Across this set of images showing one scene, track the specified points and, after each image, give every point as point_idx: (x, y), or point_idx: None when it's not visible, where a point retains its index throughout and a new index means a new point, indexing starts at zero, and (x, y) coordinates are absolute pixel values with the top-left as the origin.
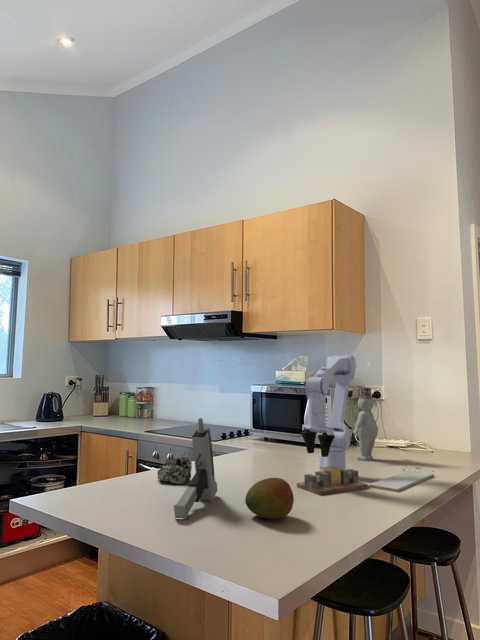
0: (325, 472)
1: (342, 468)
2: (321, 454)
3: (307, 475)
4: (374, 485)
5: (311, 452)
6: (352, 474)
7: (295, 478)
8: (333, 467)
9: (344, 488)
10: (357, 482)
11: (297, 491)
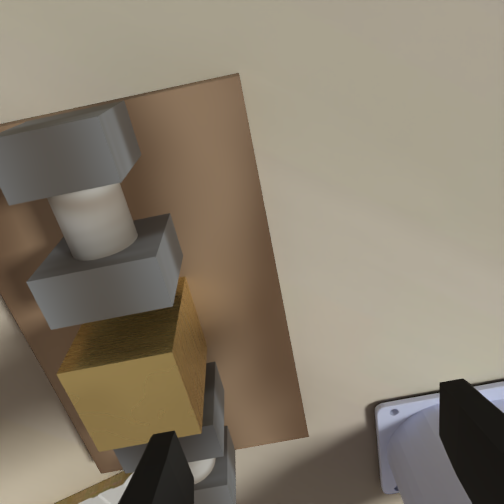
0: (140, 332)
1: (400, 494)
2: (167, 449)
3: (51, 131)
4: (105, 492)
5: (441, 418)
6: None
7: (499, 186)
8: (137, 418)
9: (31, 341)
10: None
11: (83, 5)
